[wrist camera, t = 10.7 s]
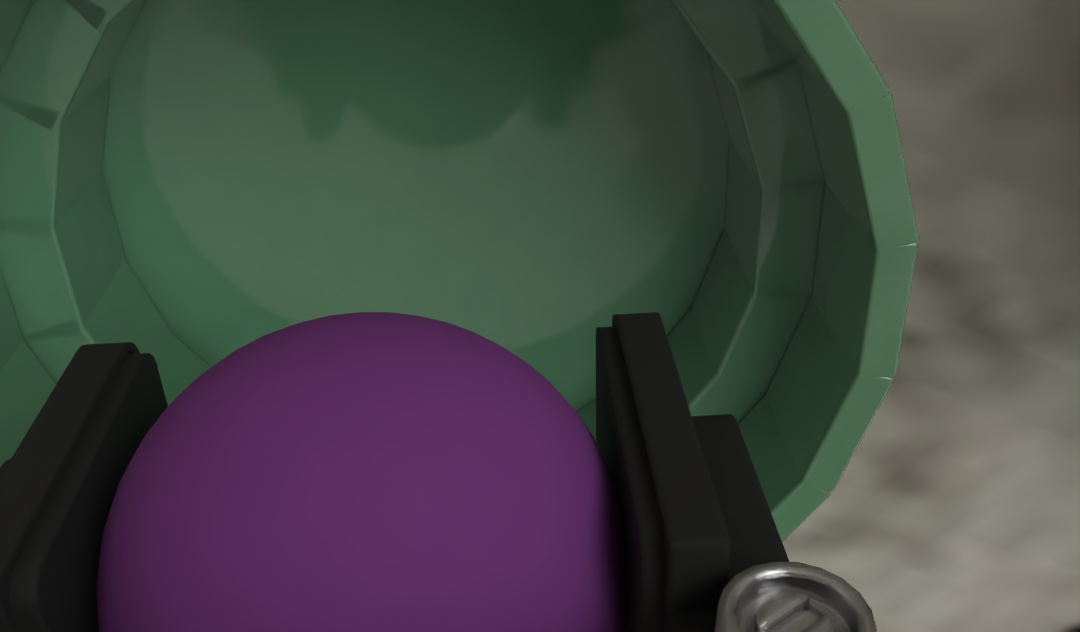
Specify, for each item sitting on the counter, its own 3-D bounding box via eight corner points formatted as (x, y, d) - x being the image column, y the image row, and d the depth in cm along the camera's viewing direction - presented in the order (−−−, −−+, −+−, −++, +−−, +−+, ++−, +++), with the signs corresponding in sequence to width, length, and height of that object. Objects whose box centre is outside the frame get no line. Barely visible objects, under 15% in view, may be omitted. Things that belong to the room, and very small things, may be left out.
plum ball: (601, 213, 12) (682, 534, 7) (600, 558, 14) (661, 951, 10) (128, 238, 11) (-93, 585, 7) (217, 584, 14) (100, 995, 10)
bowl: (847, -267, 16) (1007, -258, 11) (771, 464, 23) (848, 659, 18) (-94, -232, 15) (-347, -207, 11) (128, 502, 23) (36, 712, 18)
